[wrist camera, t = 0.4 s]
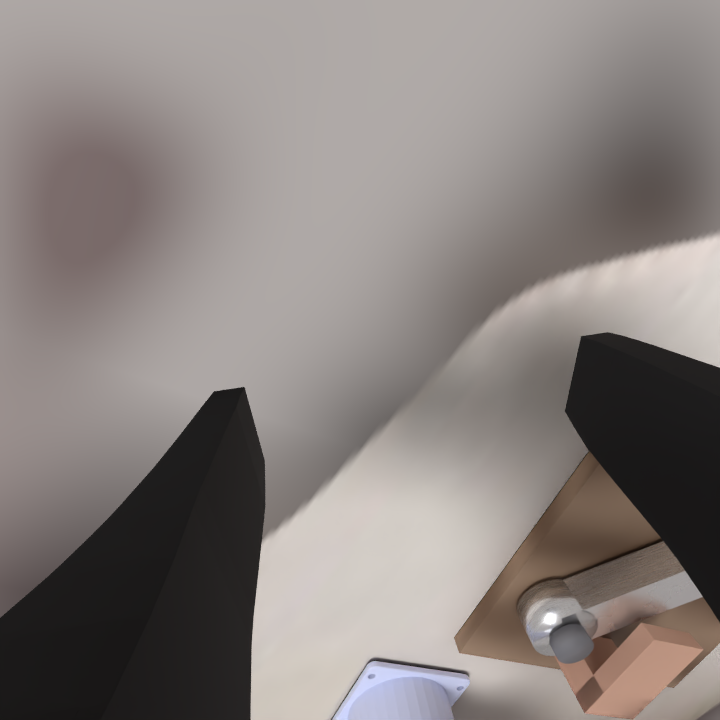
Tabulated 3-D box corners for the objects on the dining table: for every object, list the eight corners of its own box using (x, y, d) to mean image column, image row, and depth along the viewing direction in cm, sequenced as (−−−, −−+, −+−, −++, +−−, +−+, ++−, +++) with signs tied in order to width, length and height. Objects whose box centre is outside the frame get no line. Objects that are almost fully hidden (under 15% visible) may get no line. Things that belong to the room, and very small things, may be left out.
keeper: (496, 640, 28) (523, 705, 25) (552, 566, 26) (591, 626, 23) (594, 657, 31) (632, 719, 27) (654, 591, 29) (703, 649, 25)
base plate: (663, 674, 35) (673, 687, 34) (454, 638, 29) (459, 652, 28) (854, 483, 28) (872, 493, 28) (632, 390, 23) (646, 400, 22)
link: (523, 632, 28) (539, 664, 26) (510, 594, 26) (526, 626, 24) (774, 535, 27) (807, 561, 26) (777, 491, 26) (813, 515, 24)
